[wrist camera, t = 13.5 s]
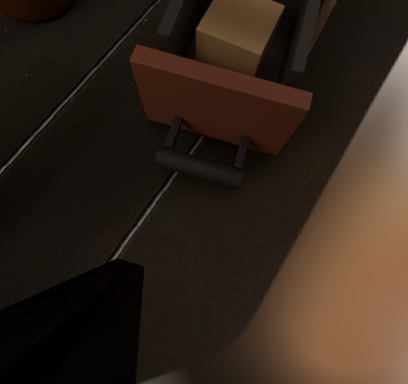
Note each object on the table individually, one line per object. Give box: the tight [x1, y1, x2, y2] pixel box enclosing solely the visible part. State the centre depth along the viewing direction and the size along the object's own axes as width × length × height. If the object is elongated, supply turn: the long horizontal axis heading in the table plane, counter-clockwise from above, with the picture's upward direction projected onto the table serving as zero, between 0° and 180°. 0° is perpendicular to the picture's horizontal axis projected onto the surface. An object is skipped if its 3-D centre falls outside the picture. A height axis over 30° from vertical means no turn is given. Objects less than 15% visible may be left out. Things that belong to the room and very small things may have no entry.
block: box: [196, 0, 285, 78], centre depth 20 cm, size 4×4×4 cm
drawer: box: [130, 0, 321, 190], centre depth 20 cm, size 16×10×6 cm, turn 163°
